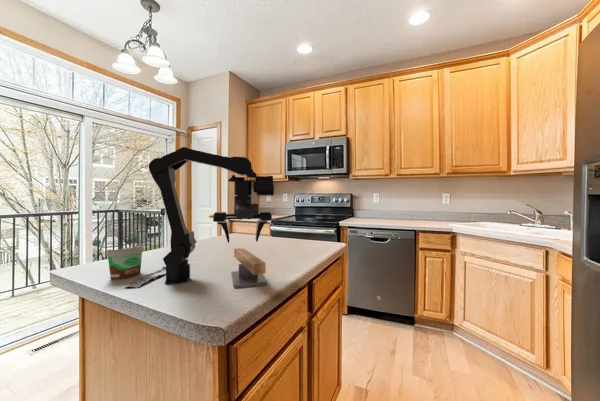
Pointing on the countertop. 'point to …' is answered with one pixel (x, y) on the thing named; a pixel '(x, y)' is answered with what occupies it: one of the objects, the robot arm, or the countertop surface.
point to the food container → (125, 262)
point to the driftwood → (145, 279)
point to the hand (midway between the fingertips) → (242, 242)
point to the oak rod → (250, 261)
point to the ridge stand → (247, 278)
